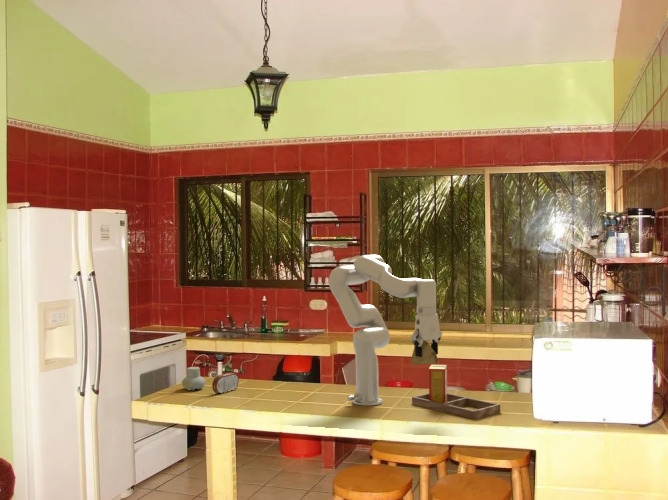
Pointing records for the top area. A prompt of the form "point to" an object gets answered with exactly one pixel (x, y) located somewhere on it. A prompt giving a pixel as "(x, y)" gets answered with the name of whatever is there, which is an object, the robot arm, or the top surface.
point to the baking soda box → (438, 383)
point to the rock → (425, 355)
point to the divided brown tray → (458, 405)
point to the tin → (225, 382)
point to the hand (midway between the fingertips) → (426, 355)
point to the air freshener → (193, 379)
